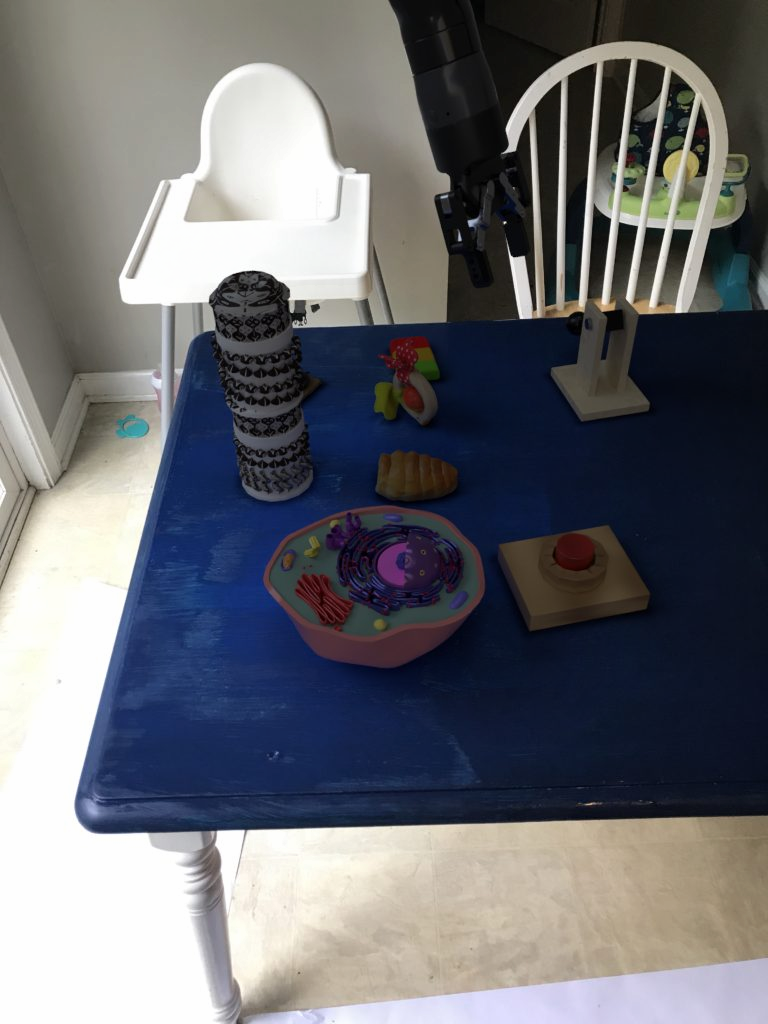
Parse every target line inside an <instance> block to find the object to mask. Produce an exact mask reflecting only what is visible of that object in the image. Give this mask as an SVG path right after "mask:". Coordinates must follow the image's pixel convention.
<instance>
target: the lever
mask: <svg viewBox="0 0 768 1024" xmlns="http://www.w3.org/2000/svg"><path fill="white" fill-rule="evenodd" d="M602 312H603V313H604V315H605V316H606V317H607V323H606V330H605V333H607V332H611V331H615V330H622V329H624V325H623V311H622V309H619V310H614V309H612V310H604V311H602ZM583 318H584V311H580V310H576V311H574V312H571V313H570V314H569V315H568V316H567V319H566V322H565V328H566V329H567V331H568V333H569V334H570V335H573V336H577V337H579V336H580V337H581V332H582V325H583Z"/></svg>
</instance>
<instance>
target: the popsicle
mask: <svg viewBox="0 0 768 1024" xmlns="http://www.w3.org/2000/svg"><path fill="white" fill-rule="evenodd" d="M409 338H412V339H413V349H414V350H415V351H416V352H417V354H418V357H419V359H418V361H417V363H416V364H415V366H414V367H415V368H417V369H418V370H419V372H420V373H421V374H422V375H423V376H424V377H425V378H426V379H427V381H428V382H429V381H438V380H440V374H441V373H440V372H441V371H440V370H439V366H438V363H437V361H436V358H435V355H434V353H433V350H432V348H431V345H430V343H429V339H428V338H426V337H425V336H422V335H417V336H415V335H414V336H406V337H399V338H394V339H392V340H391V341H390V343H389V353H390V356H391V357H392V358H394V359H396V347H397V346H398V345H401V346H402V345H403V344H404V343H405V341H406V340H407V339H409ZM396 371H397V369H395V372H396Z"/></svg>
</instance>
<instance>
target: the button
mask: <svg viewBox="0 0 768 1024" xmlns="http://www.w3.org/2000/svg"><path fill="white" fill-rule="evenodd" d="M594 550H595V547H594V544H593V542H592V541H591V540H590V539H589V538H588V537H586V536H584V535H581V534H576V533H570V534H566V535H563V536H562V537H561V538H560V539H559V540H558V542H557V547H556V553H555V559H556V561H557V563H558V564H559V565H560V566H561V567H562V568H564V569H567V570H572V571H582V570H585V569H587V568H588V567H590V565H591V564H592V561H593V555H594Z"/></svg>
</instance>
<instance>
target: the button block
mask: <svg viewBox="0 0 768 1024" xmlns="http://www.w3.org/2000/svg"><path fill="white" fill-rule="evenodd" d="M570 533H576V534H581V535H584V536H586V537H588V538H589V539H590V540H591V541H592V542H593V544H594V547H595V550H594V555H593V561H592V564H591V565H590V567H588V568H587V569H585V570H582V571H572V570H567V569H564V568H562V567H561V566H560V565H559V564H558V563H557V561H556V559H555V553H556V547H557V542H558V540H559V539H560V538H561V537H562V536H563V535H566V534H570ZM497 549H498V551H497V561H498V563H499V566H500V568H501V570H502V572H503V575H504V577H505V579H506V582H507V584H508V587H509V589H510V590H511V593H512V595H513V597H514V600H515V602H516V604H517V606H518V610H519V611H520V613H521V615H522V618H523V620H524V622H525V625H526V628H527V629H528V631H529V632H534V631H538V630H545V629H549V628H555V627H561V626H565V625H569V624H575V623H580V622H586V621H591V620H597V619H602V618H607V617H611V616H616V615H617V616H618V615H621V614H626V613H632V612H637V611H643V610H647V608H648V604H649V600H650V597H651V593H650V591H649V590H648V588H647V586H646V584H645V583H644V581H643V579H642V577H641V576H640V574H639V573H638V571H637V569H636V568H635V566H634V564H633V563H632V561H631V559H630V558H629V556H628V555H627V553H626V551H625V550H624V547H623V546H622V544H621V543H620V542H619V539H618V538H617V536H616V535H615V533H614V532H613V530H612V528H611V527H610V525H609V524H606V525H602V526H595V527H590V528H584V529H578V530H572V531H567V532H562V533H557V534H551V535H550V534H549V535H545V536H537V537H534V538H527V539H522V540H516V541H511V542H510V541H509V542H505V543H500V544H499V543H498V548H497Z"/></svg>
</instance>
